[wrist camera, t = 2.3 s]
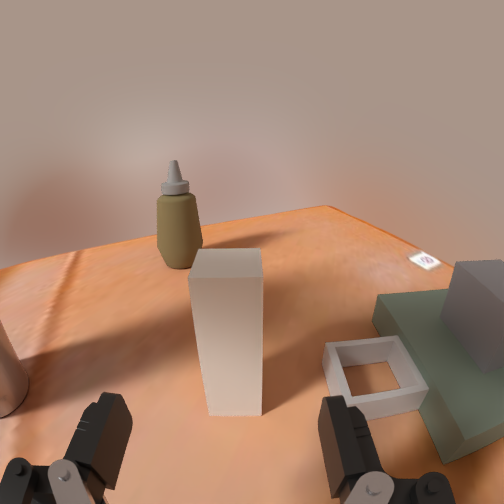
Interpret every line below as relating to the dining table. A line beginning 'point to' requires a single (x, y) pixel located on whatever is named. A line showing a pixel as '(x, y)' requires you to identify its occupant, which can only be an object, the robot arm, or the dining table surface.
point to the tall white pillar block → (229, 328)
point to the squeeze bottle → (177, 221)
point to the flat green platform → (436, 359)
